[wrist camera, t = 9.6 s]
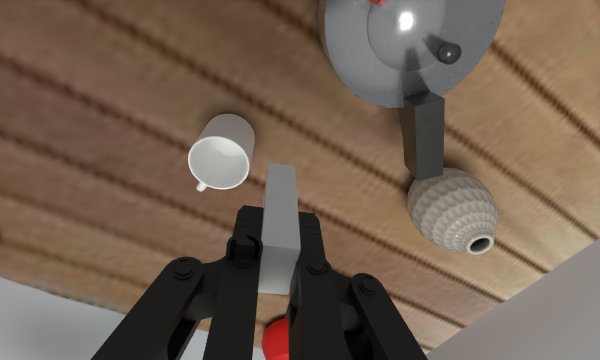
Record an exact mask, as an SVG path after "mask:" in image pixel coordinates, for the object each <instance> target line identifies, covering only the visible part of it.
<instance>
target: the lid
mask: <svg viewBox="0 0 600 360" xmlns="http://www.w3.org/2000/svg"><path fill="white" fill-rule="evenodd" d="M505 1H506V0H326V2H325V8H324V18H323V26H324V39H325V45H326V49H327V53H328V56H329V59H330V61H331V64H332V66H333V68H334V70H335V72H336V73H337V75H338V76H339V78H340V79H341V80H342V82H343V83H344V84H345V85H346V86H347V87H348V88H349V89H350V90H351V91H352V92H353V93H354V94H355V95H357V96H358V97H359V98H361V99H363V100H365V101H367V102H369V103H371V104H374V105H377V106H381V107H386V108H401V116H402V131H403V147H404V162H405V166H406V167H407V168H408V170H409V171H410V172H411V173H412V175H413V176H414V177H415V178H416V180H417V181H421V180H425V179H429V178H434V177H438V176H442V175H443V152H444V104H445V99H444V98H442V97H440V96H441V95H443V94H444V93H446V92H448V91H449V90H450V89H452V88H453V87H454V86H456V85H457V84H458V83H459V82H460V81H462V80H463V79H464V78H465V77H466V76H467V75H468V74H469V73H470V72H471V71H472V69H473V68H474V67H475V66H476V65H477V63H478V62H479V61H480V59H481V58H482V57H483V55H484V54H485V52H486V50H487V49H488V47H489V46H490V44H491V42H492V40H493V38H494V36H495V34H496V31H497V29H498V26H499V24H500V21H501V18H502V14H503V11H504V7H505Z"/></svg>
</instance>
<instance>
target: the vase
mask: <svg viewBox="0 0 600 360" xmlns="http://www.w3.org/2000/svg"><path fill="white" fill-rule="evenodd" d="M407 209H408V213H409V216H410V218H411V220H412V222H413V224H414V226H415V227H416V229H417V230H418V231H419V232H420V233H421V235H422V236H424V237H425V238H426V239H427V240H429V241H430V242H432V243H433V244H435V245H437V246H439V247H441V248H444V249H447V250H450V251H455V252H467V253H469V254H472V255H478V254H482V253H484V252H486V251H488V250H489V249H490V248H491V247H492V246H493V244H494V238H493V237H494V235H495V233H496V229H497V226H498V211H497V207H496V203H495V200H494V198H493V196H492V194H491V193H490V191H489V190H488V189H487V188H486V187H485V185H484V184H483V183H482V182H480V181H479V180H478V179H477V178H475V177H474V176H472V175H471V174H469V173H467V172H464V171H462V170H459V169H455V168H446V167H443V175H442V176H438V177H434V178H429V179H425V180H421V181H417V180H416V179H415V180H414V181H413V182H412V184H411V186H410V189H409V192H408V196H407Z"/></svg>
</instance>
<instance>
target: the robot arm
mask: <svg viewBox="0 0 600 360" xmlns="http://www.w3.org/2000/svg"><path fill="white" fill-rule="evenodd" d="M289 290H290V301H289V304H288V308H287V311H286V316H285V318H288V338H289V360H428V359H427V357H426V356H425V354H424V352H423V351H422V349H421V347H420V346H419V344H418V343H417V341H416V339H415V338H414V336H413V334H412V333H411V331H410V329H409V328H408V326H407V325H406V323H405V321H404V320H403V318H402V316H401V315H400V313H399V311H398V310H397V308H396V307H395V305H394V303H393V302H392V300H391V298H390V297H389V295H388V293H387V292H386V290H385V289H384V287H383V285H382V284H381V283H380V282H379V280H378V279H376V278H375V277H373V276H372V275H369V274H366V273H359V274H356V275H354V276H353V278H350V277H347V276H345V275H342V274H340V273H338V272H336V271H335V270H333V269H332V268H331V265H330V263H329V262H328V261H327V260H326V258H325V252H324V246H323V240H322V236H321V230H320V222H319V220H318V218H317V217H316V215H315V214H314V213H306V212H298V203H297V189H296V175H295V166H290V165H283V164H277V163H270V162H269V167H268V173H267V180H266V186H265V192H264V199H263V207H254V206H246V205H244V206H243V207H242V208H241V209H240V210H239V211H238V214H237V218H236V222H235V227H234V231H233V236H232V237H231V238H229V240H228V242H227V250H226V256H224V257H223V258H222V259H220V260H218V261H215V262H211V263H205V264H202V263H201V262H200V261H199V260H197V259H195V258H193V257H181V258H177V259H175V260H173V261H171V262H170V263H169V264H168V265H167V266H166V267H165V268H164V269H163V271H162V272H161V273H160V274H159V276H158V277H157V278H156V279H155V280H154V282H153V283H152V284H151V285H150V287H149V288H148V289H147V290H146V292H145V293H144V294H143V295H142V297H141V298H140V299H139V300H138V302H137V303H136V304H135V305H134V307H133V308H132V309H131V310H130V311H129V313H128V314H127V315H126V316H125V318H124V319H123V320H122V322H121V323H120V324H119V325H118V326H117V328H116V329H115V330H114V331H113V333H112V334H111V335H110V336H109V338H108V339H107V340H106V341H105V342H104V344H103V345H102V346H101V347H100V349H99V350H98V351H97V352H96V354H95V355H94V356H93V357H92V359H91V360H180V358H181V356H182V355H183V353H184V350H185V349H186V347H187V345H188V343H189V341H190V340H191V338H192V336H193V334H194V332H195V330H196V329H197V327H198V325H199V323H200V321H201V319H205V318H209V317H212V321H211V325H210V329H209V334H208V338H207V343H206V347H205V351H204V356H203V360H252V354H253V343H254V331H255V320H256V309H257V297H258V292H261V293H273V294H285V295H288V294H289Z"/></svg>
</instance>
